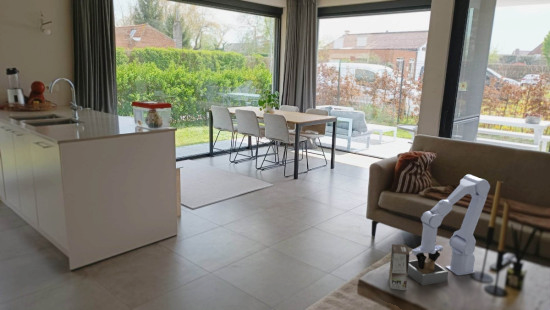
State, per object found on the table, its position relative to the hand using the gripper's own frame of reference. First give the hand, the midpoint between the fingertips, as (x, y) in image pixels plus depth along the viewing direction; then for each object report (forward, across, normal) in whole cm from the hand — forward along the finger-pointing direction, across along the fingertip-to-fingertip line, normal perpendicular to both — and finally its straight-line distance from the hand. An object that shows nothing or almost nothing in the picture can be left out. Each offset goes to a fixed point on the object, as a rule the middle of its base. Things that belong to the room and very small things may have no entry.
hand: (425, 267), depth 174 cm
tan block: (+2, 0, 0) cm, 2 cm away
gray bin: (+4, 0, 0) cm, 4 cm away
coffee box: (+4, -16, -2) cm, 17 cm away
